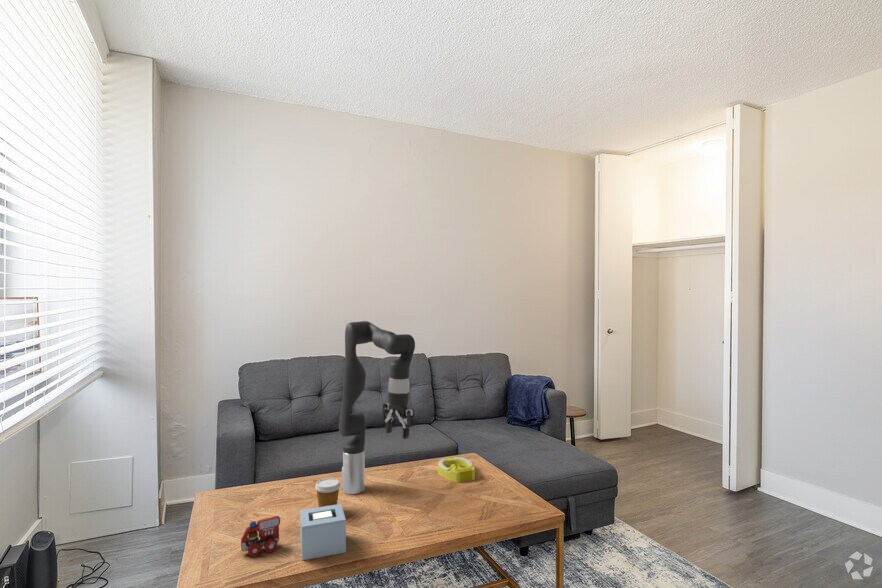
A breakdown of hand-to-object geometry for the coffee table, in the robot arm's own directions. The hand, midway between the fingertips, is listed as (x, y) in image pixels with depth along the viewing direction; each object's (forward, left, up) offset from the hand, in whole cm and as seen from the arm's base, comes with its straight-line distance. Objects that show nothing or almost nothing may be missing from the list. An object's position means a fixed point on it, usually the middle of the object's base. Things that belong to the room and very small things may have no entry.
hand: (397, 435), depth 169 cm
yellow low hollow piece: (-16, +56, -36) cm, 68 cm away
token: (-13, -23, -34) cm, 43 cm away
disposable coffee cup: (-31, -7, -35) cm, 48 cm away
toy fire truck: (-28, -37, -35) cm, 58 cm away
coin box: (-13, -23, -35) cm, 44 cm away
